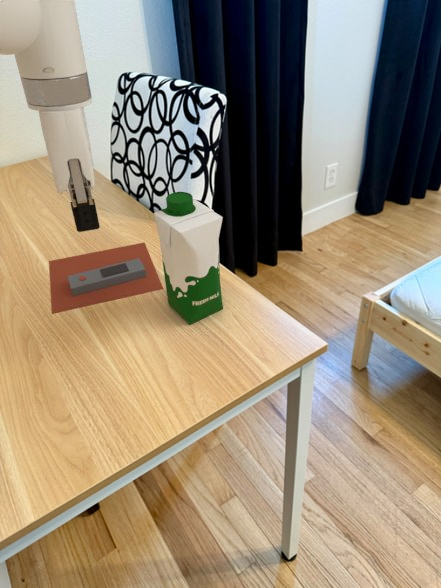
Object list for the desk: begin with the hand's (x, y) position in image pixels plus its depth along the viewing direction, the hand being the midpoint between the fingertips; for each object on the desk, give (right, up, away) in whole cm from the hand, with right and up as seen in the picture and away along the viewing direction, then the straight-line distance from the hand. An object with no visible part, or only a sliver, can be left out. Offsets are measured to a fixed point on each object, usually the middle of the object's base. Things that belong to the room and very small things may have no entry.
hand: (88, 227), depth 62 cm
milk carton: (+15, -12, +13) cm, 23 cm away
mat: (-4, -6, +22) cm, 23 cm away
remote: (-2, -7, +20) cm, 22 cm away
